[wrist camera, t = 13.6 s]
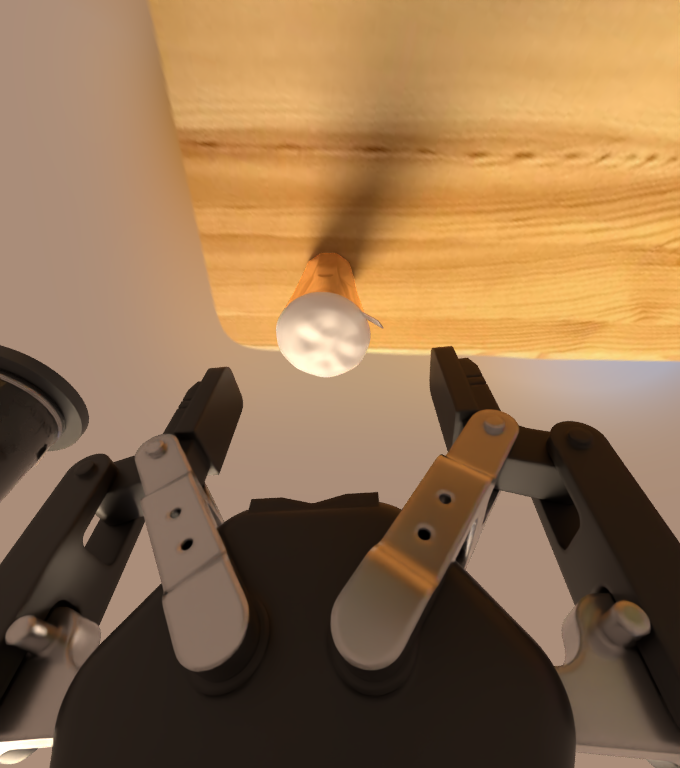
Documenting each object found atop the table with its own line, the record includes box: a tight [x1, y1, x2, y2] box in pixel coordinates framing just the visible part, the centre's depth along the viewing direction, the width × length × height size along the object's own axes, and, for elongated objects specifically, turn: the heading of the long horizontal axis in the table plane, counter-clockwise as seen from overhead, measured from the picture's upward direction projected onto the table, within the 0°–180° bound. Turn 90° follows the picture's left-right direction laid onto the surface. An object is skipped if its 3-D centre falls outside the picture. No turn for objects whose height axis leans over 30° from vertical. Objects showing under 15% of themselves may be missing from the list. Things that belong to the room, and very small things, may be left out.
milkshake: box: [276, 253, 383, 377], centre depth 19 cm, size 4×5×10 cm
